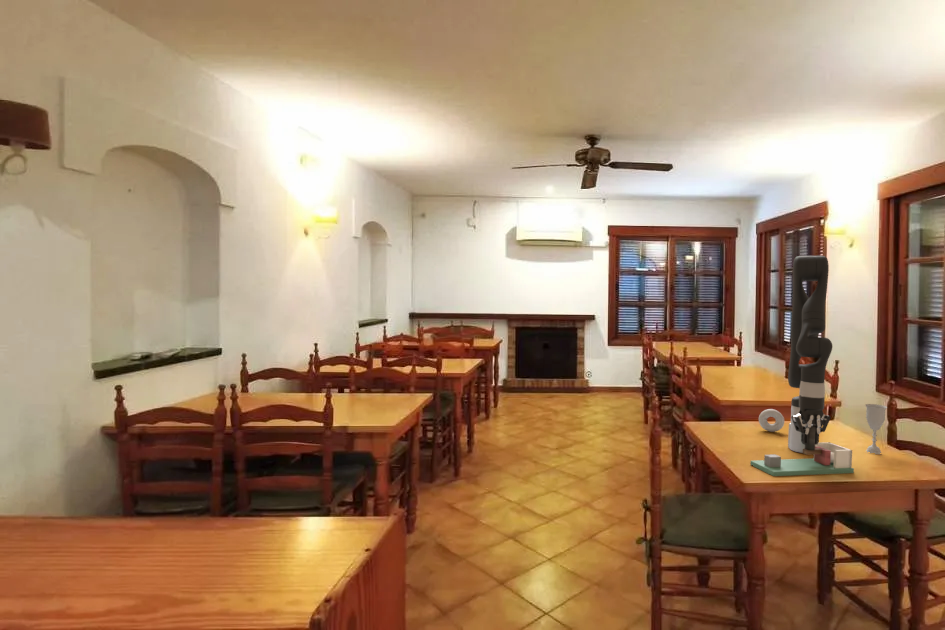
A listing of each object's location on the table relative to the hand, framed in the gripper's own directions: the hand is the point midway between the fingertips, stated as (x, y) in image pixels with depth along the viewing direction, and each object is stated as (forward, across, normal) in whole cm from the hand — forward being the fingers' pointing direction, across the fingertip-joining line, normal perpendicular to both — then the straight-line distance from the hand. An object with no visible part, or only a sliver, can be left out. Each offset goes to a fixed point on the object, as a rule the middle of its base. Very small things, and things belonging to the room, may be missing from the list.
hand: (809, 443), depth 195 cm
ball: (+5, -8, 0) cm, 10 cm away
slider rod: (+7, -2, 0) cm, 7 cm away
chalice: (+9, -40, -15) cm, 44 cm away
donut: (+9, -21, -48) cm, 53 cm away
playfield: (+9, +3, 0) cm, 9 cm away
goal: (+7, -9, 0) cm, 11 cm away
